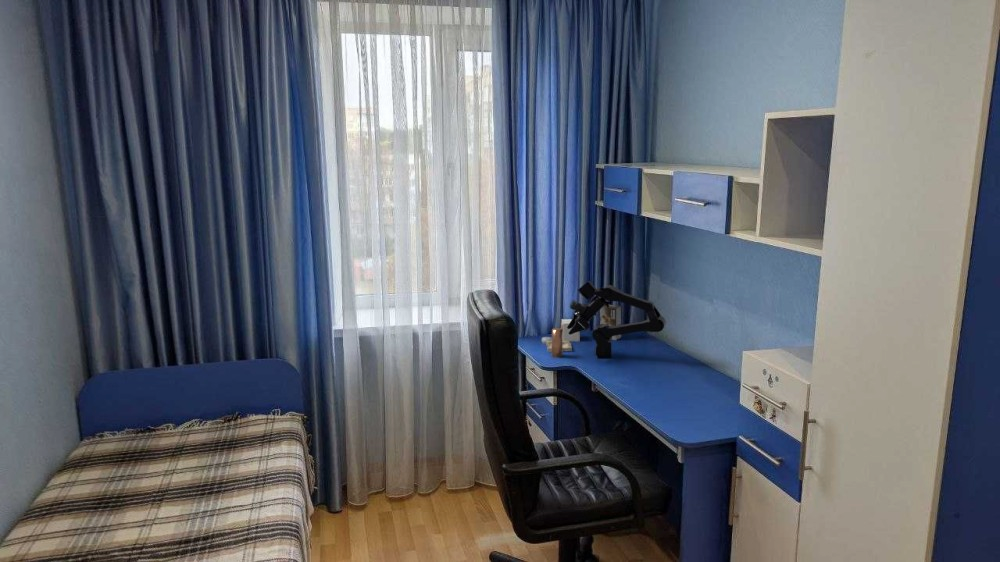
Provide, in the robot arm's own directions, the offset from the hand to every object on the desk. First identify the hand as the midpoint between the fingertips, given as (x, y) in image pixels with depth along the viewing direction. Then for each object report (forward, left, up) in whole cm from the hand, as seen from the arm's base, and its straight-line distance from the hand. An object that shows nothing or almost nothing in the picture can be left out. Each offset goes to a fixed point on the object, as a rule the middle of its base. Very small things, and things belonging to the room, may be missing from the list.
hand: (568, 331), depth 304 cm
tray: (+3, -11, -11) cm, 16 cm away
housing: (-4, -26, -11) cm, 29 cm away
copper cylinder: (+5, +1, -11) cm, 13 cm away
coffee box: (-24, -28, -12) cm, 39 cm away
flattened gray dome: (+8, -20, -12) cm, 25 cm away
